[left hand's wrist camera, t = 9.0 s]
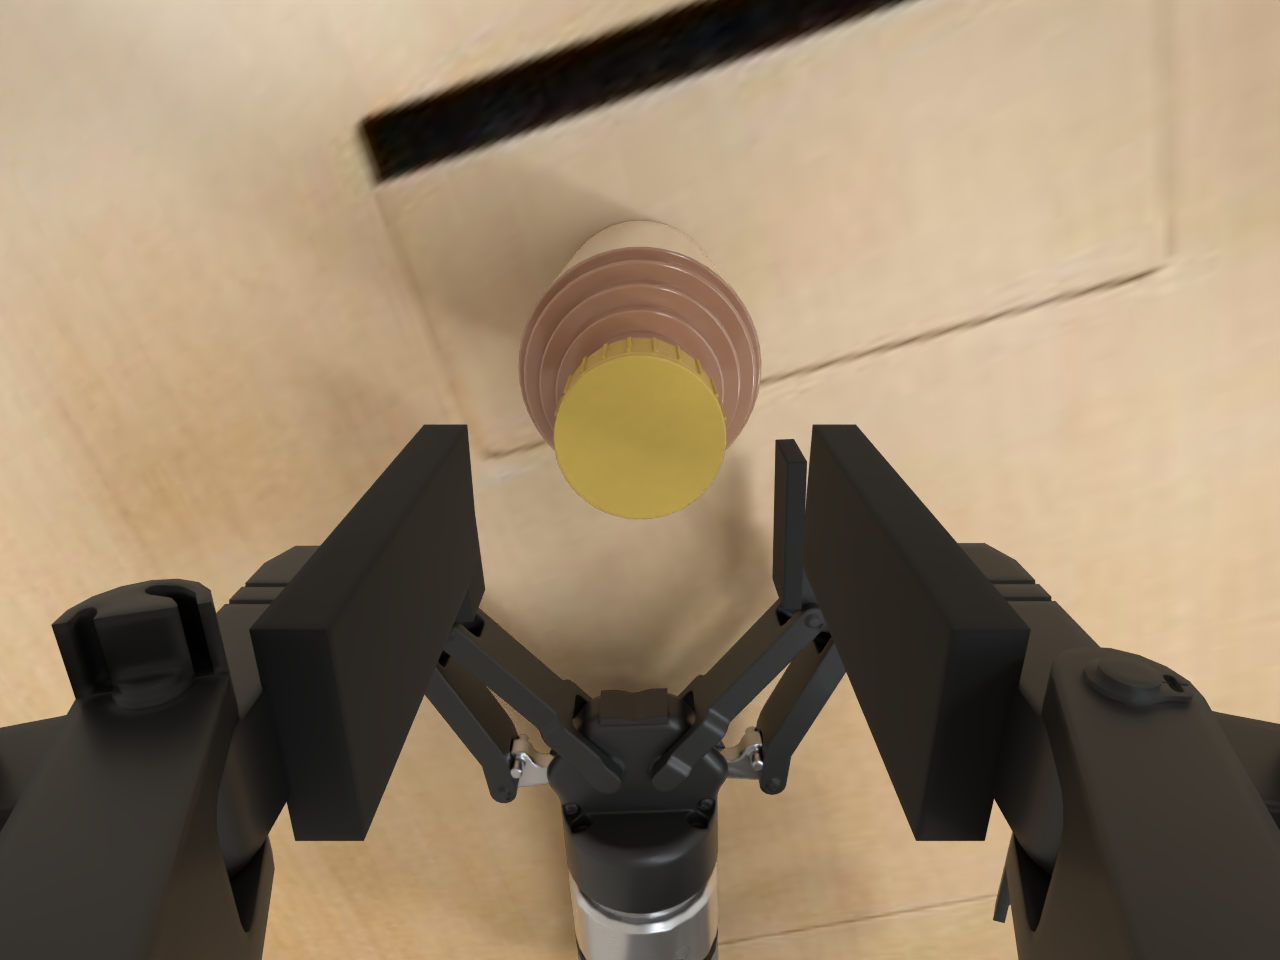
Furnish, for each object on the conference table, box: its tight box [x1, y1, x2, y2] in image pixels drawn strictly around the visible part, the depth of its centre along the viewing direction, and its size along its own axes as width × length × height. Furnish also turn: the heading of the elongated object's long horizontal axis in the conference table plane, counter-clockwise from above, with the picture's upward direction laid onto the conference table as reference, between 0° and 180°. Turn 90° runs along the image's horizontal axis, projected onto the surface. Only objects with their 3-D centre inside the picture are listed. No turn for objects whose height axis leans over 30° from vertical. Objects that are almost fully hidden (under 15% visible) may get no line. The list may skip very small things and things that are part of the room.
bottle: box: [519, 220, 761, 451], centre depth 26 cm, size 7×7×18 cm
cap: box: [553, 337, 726, 519], centre depth 18 cm, size 4×4×2 cm
